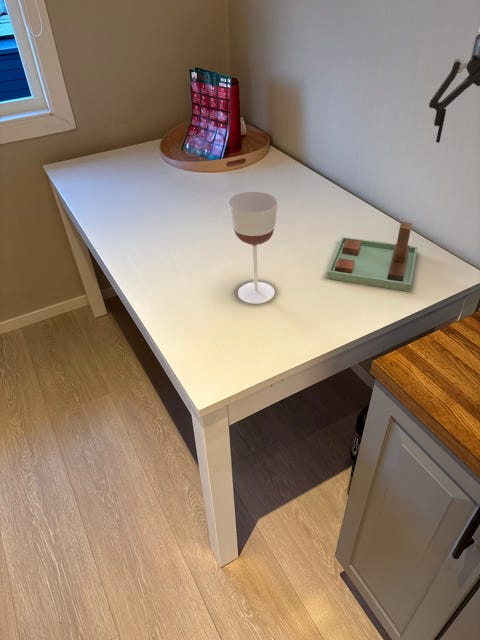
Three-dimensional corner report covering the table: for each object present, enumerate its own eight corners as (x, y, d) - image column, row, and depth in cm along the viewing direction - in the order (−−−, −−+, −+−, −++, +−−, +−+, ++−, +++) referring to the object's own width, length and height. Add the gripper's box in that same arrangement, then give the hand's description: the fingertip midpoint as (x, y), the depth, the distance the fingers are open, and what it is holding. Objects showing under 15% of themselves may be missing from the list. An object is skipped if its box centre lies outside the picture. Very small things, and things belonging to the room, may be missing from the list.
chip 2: (354, 267, 119) (354, 260, 118) (351, 275, 116) (351, 269, 115) (337, 264, 120) (338, 257, 119) (334, 273, 117) (335, 266, 116)
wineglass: (245, 277, 119) (240, 189, 104) (283, 286, 115) (284, 196, 100) (228, 298, 112) (220, 207, 98) (267, 308, 109) (266, 215, 94)
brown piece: (408, 254, 122) (416, 212, 115) (402, 284, 112) (410, 241, 105) (394, 252, 123) (401, 210, 116) (386, 282, 113) (394, 239, 106)
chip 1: (360, 248, 126) (361, 241, 124) (357, 256, 123) (358, 249, 121) (345, 246, 127) (345, 239, 126) (342, 253, 124) (342, 247, 123)
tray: (416, 253, 123) (417, 246, 122) (409, 291, 111) (411, 284, 110) (341, 243, 129) (341, 236, 128) (326, 278, 117) (327, 271, 115)
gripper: (429, 36, 96) (410, 144, 109) (572, 38, 88) (533, 153, 102) (431, 30, 101) (413, 133, 115) (567, 30, 94) (531, 141, 107)
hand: (470, 142), depth 108 cm, fingers open, 13 cm apart
